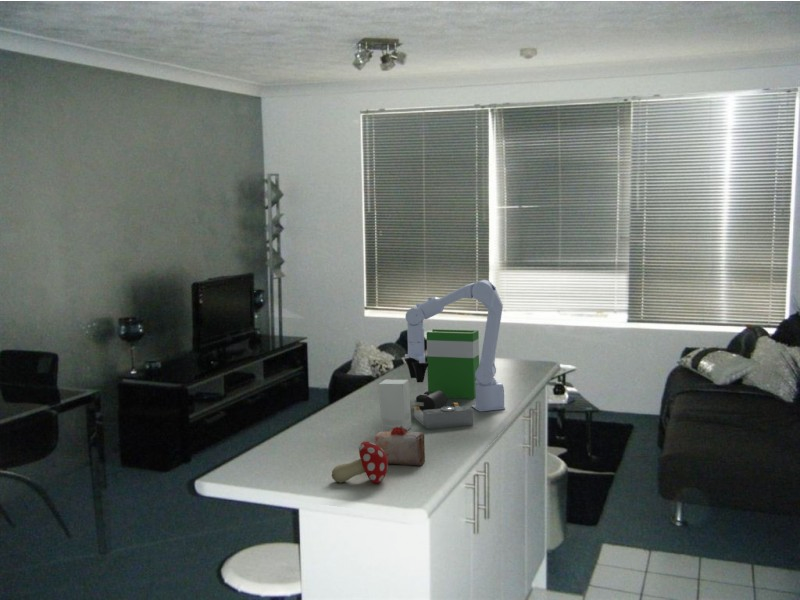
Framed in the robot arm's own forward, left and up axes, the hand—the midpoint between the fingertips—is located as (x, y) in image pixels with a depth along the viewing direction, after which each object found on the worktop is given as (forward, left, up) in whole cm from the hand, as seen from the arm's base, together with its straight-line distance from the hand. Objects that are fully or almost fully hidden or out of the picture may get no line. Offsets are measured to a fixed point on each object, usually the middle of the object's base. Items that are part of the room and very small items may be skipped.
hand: (417, 380), depth 280 cm
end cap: (-2, +9, -10) cm, 14 cm away
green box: (-17, -12, -10) cm, 23 cm away
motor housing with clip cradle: (-2, +21, -10) cm, 24 cm away
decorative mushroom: (+35, +70, -10) cm, 79 cm away
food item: (+22, +58, -10) cm, 63 cm away
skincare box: (+15, +26, -10) cm, 31 cm away
